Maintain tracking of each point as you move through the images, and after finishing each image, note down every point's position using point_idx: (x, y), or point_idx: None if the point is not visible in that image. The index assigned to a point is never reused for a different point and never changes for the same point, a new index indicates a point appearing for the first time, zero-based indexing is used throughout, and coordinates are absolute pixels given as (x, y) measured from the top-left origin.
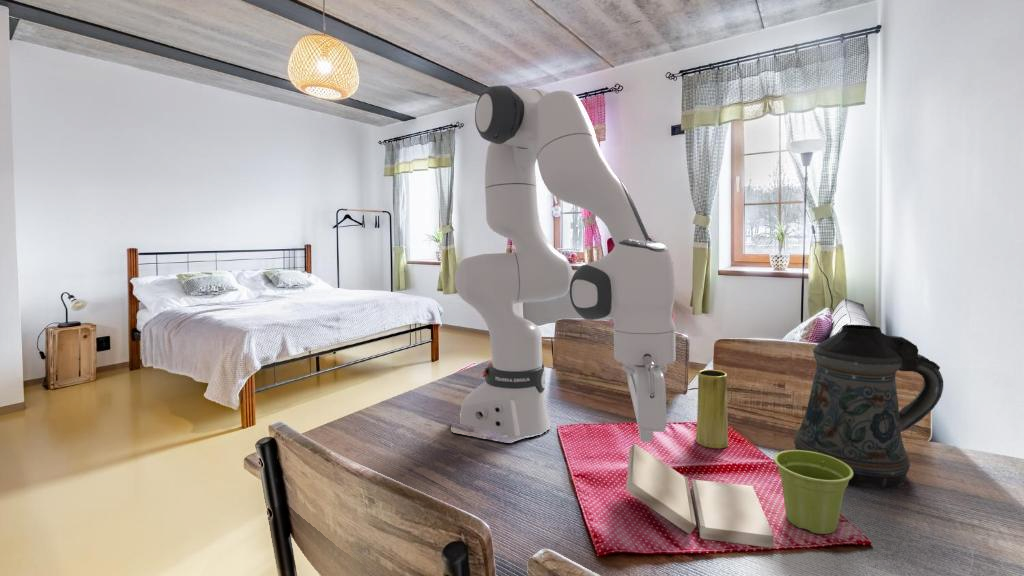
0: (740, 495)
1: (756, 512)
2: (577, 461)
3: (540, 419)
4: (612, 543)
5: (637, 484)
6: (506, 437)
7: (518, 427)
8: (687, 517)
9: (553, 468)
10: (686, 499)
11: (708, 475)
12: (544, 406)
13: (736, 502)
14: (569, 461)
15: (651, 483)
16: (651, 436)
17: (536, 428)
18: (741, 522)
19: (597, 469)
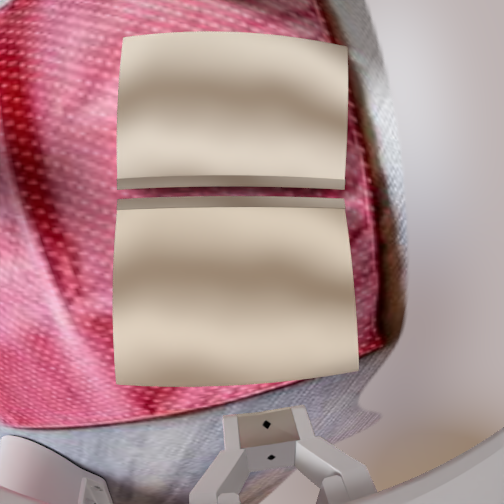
0: (179, 68)
1: (260, 48)
2: (99, 410)
3: (39, 467)
4: (358, 333)
5: (351, 357)
6: (99, 486)
7: (81, 487)
8: (336, 218)
9: (143, 437)
10: (247, 212)
11: (49, 143)
12: (17, 473)
13: (220, 83)
14: (106, 420)
15: (298, 321)
16: (308, 419)
17: (53, 464)
18: (312, 93)
19: (111, 382)
